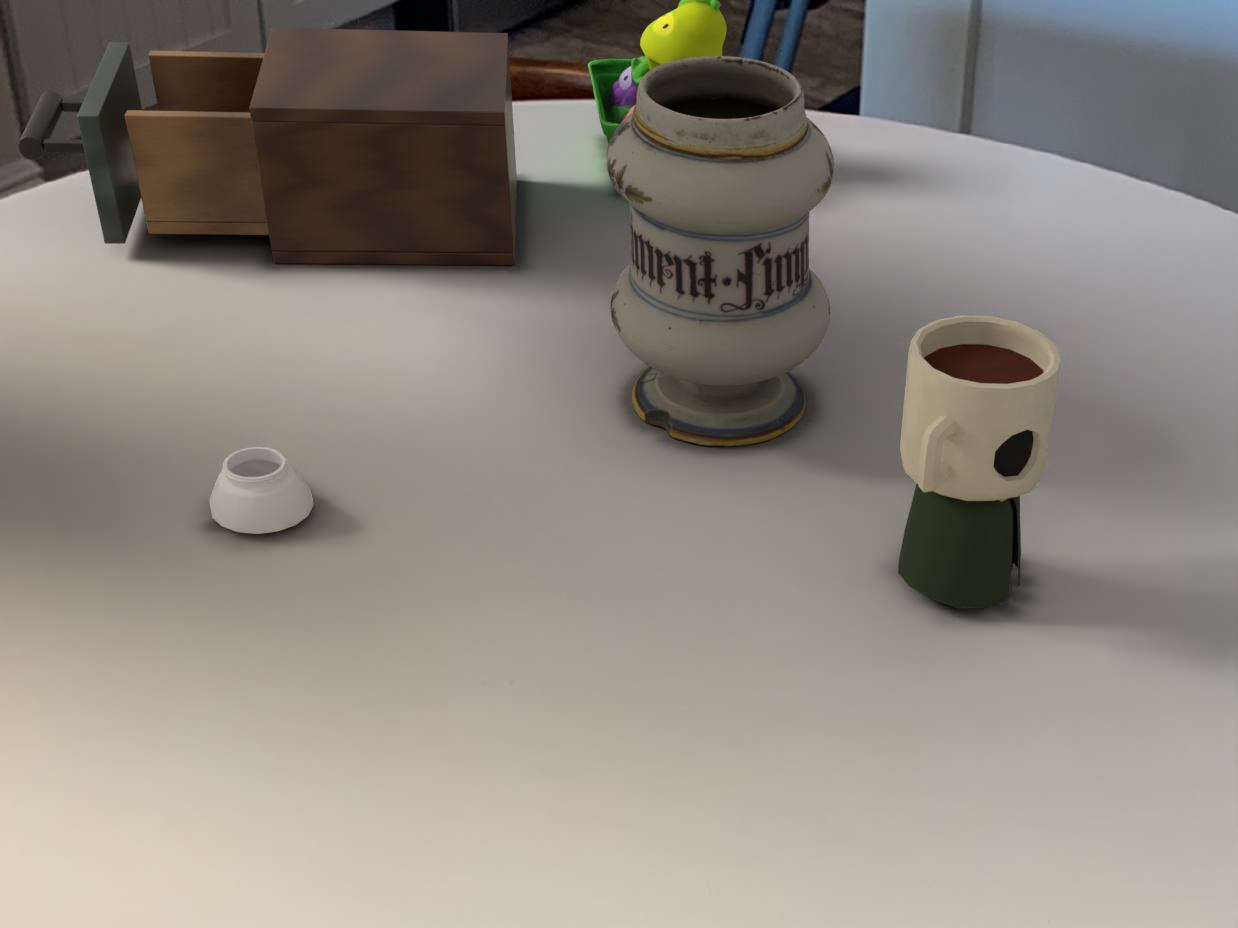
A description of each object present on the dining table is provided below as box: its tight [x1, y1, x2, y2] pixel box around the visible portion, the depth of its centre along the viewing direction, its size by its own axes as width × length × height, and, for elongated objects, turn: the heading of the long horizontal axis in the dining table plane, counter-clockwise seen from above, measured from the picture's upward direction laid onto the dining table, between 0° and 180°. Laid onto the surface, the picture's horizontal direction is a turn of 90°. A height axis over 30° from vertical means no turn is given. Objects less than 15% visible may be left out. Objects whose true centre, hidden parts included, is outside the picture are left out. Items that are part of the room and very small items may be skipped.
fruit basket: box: [587, 0, 728, 145], centre depth 127 cm, size 11×9×11 cm
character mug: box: [897, 314, 1062, 609], centre depth 92 cm, size 11×7×13 cm, turn 151°
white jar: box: [208, 446, 315, 535], centre depth 96 cm, size 5×3×5 cm
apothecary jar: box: [606, 55, 835, 447], centre depth 102 cm, size 12×12×18 cm
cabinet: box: [249, 27, 518, 266], centre depth 119 cm, size 15×13×10 cm
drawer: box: [17, 41, 269, 245], centre depth 117 cm, size 18×11×8 cm, turn 97°
